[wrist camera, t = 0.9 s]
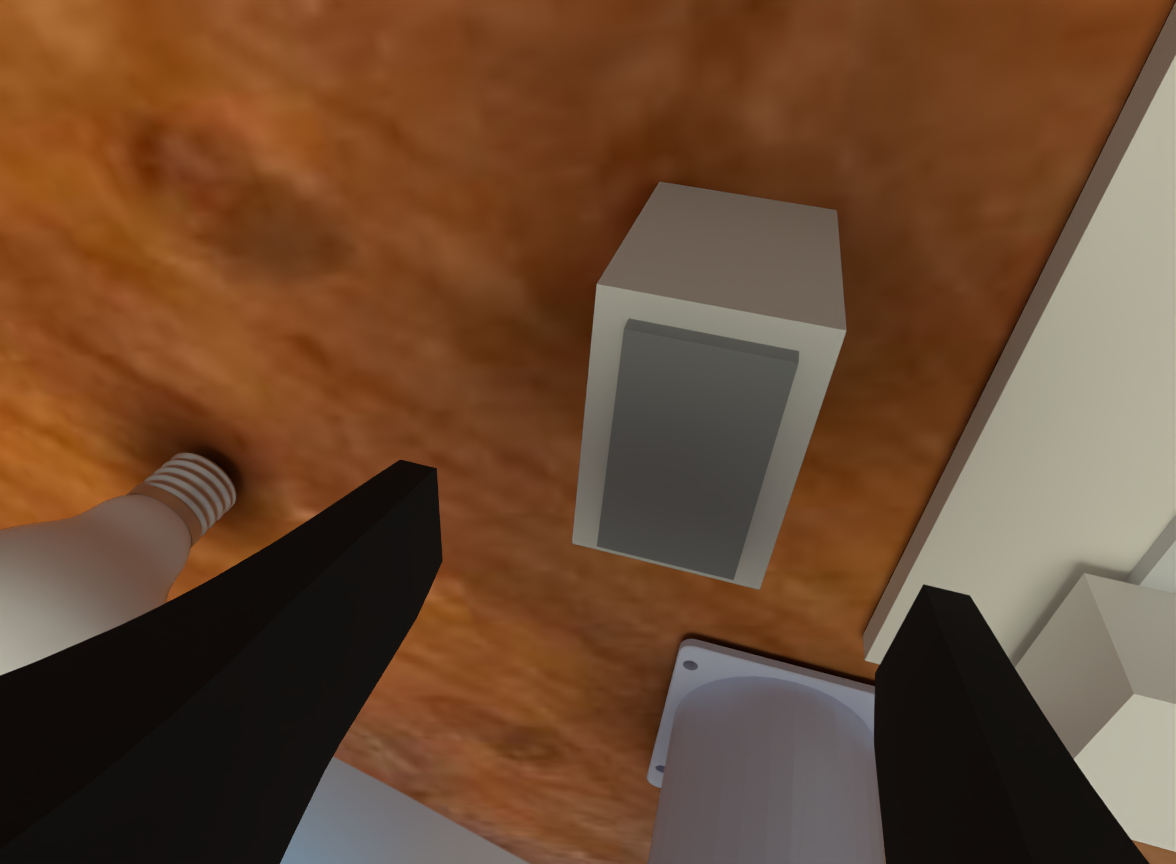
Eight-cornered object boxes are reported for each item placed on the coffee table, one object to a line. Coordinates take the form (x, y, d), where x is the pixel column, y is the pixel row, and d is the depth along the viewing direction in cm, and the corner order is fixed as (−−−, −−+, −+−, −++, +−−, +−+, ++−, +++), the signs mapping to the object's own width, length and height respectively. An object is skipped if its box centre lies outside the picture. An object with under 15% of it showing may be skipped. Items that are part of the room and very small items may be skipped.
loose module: (773, 427, 19) (758, 604, 14) (630, 397, 20) (566, 556, 15) (836, 209, 16) (847, 342, 11) (659, 181, 16) (590, 293, 11)
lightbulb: (135, 368, 24) (-242, 612, 16) (303, 451, 25) (23, 738, 16) (138, 488, 28) (-162, 736, 20) (283, 558, 28) (49, 835, 20)
